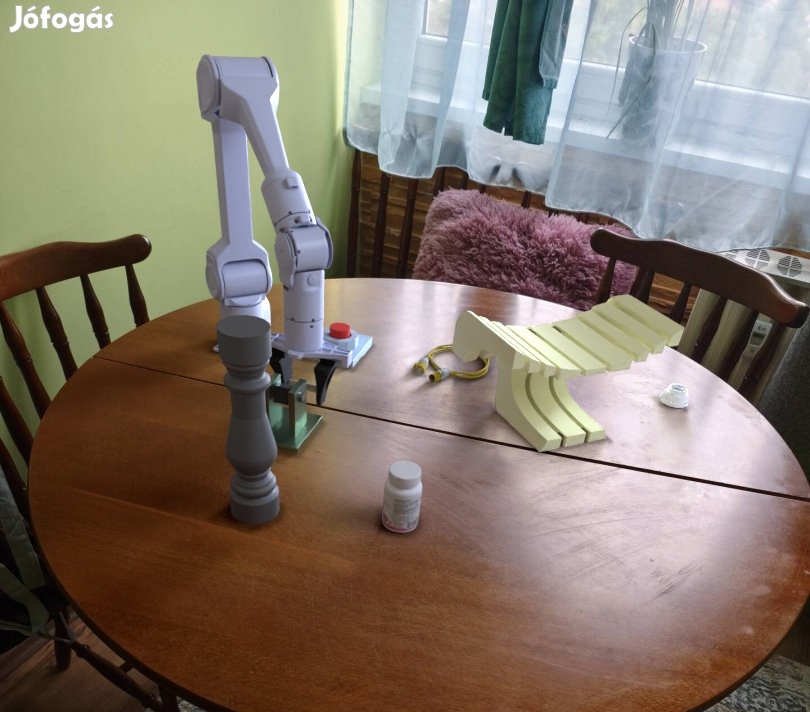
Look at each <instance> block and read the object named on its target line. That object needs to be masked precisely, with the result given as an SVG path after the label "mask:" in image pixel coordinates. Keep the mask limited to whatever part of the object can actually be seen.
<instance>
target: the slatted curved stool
mask: <svg viewBox="0 0 810 712" xmlns="http://www.w3.org/2000/svg"><path fill="white" fill-rule="evenodd" d="M685 329H686V327H684V326H683V325H681V324H679V323H678V322H676V321H674V320H673V319H671V318H670V317H668V316H666V315H664V314H663V313H661V312H660V311H658V310H656V309H654V308H653V307H651V306H649V305H647V304H646V303H644V302H642V301H641V300H639V299H638V298H636V297H634V296H633V295H630V294H619V295H615V296H611V297H610V298H608V299H607V301H606V302H602V303H599V304H595V305H593V306H592V307H591V309H590V310H586V311H582V312H579V313H577V314H576V315H575V317H570V318H567V319H562V320H558V321H553V322H551V324H549V323H548V322H547V323H542V324H541V323H540V324H532V325H527V327H525V326H524V325H509V324H508V325H507V324H506V325H504V324H503V323H502V322H499V321H493V320H492V321H491V320H489V319H488V318H487V317H484V316H481V315H479V316H478V315H477V314H476V313H474V312H473V311H471V310H465V311H462V312H461V313H459V315H458V317H457V319H456V322H455V325H454V333H453V338H452V344H453V345H452V346H451V347H452V351H451V352H452V353H454V354H455V355H456V356H457V357H458V358H459V359H460V360H461V361H462V362H463V363H465V364H467V363H470V362H472V361H475V360H477V359H478V358H479V357H478V355H479V356H481V357H482V358H483V359H484V360H486V359H485V358H489V359H493V358H495V359H496V364H497V365H496V366H497V378H496V386H495V393H494V406H495V410H496V412H497V413H498V414H499V415H500V416H501V417H502V418H503V419H504V420H505V421H506V422H507V423H508V424H510V426H511V427H513V428H514V429H515V430H516V431H517V432H518V433H519V434H520V435H521V436H522V437H523V439H525V440H526V441H527V442H528V443H529V444H530V445H531V446H532V447H533V448H534V449H536V450H537V451H538V453H543V452H547V451H553V450H557V449H560V447H561V446H562V447H563V448H567V447H571V446H576V445H581V444H584V443H585V441H586V442H587V443H591V442H597V441H602V440H606V439H607V436H606V435H607V434H606V429H605V428H604V427H603V426H602V425H600V424H599V422H597V421H596V420H595V419H593V418H592V417H591V416H590V415H589V414H588V413H587V412H586V411H585V410H584V409H583V408H582V407H581V406H580V405H579V404H578V403H577V402H576V401H575V400H574V398H573V397H572V395H571V393H570V391H569V389H568V387H567V380H570V379H576V378H580V376H581V375H582V376H583V377H589V376H594V375H595V376H596V375H601V374H605V373H606V371H607V372H609V373H614V372H622V371H628V370H630V369H631V366H632V363H633V362H634V363H643V362H647V360H648V356H649V354H651V355H652V356H653V355H661V354H663V352H664V350H665V348H666V346H667V347H669V348H670V347H678V346H679V345H680V342H681V339H682V337H683V334H684V332H685Z"/></svg>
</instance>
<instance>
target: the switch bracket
mask: <svg viewBox="0 0 810 712" xmlns="http://www.w3.org/2000/svg"><path fill="white" fill-rule="evenodd" d="M270 379H271V383H270V385H269V387H268V388H267V389H266V390H265V402H266V413H267V416H268V420H269V423H270V426H271V429H272V433H273V436H274V439H275V442H276V446H277V450H278V449H279V450H281V451H286V452H291V453H295V454H298V453H299V452H300V451H301V449H302V448H303V447H304V445H305V444H306V443H307V441H308V440H309V439H310V437H312V435H313V433H314V432H315V431H316V430H317V428H318V427H319V426H320V425H321V423H322V422H323V418H324V417H323V415H321V414H316V413H312V412H308V411H307V391H306V383H307V379H304V378H299V379H298V380H297V381H298V382H297V383H296V384H295V385H294V386H293V387H292V388H291V389H290V391H289V392H288V402H289V405H288V407H286V406H282V404H279V403H275V402H273V397H274V387H275V385H278V384H281V374H278V373H274V372H273V374H272V375H270Z"/></svg>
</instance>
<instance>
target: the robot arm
mask: <svg viewBox="0 0 810 712" xmlns="http://www.w3.org/2000/svg"><path fill="white" fill-rule="evenodd" d="M195 73H196V74H195V77H196V79H195V80H196V88H197V89H196V90H197V98H198V108H199V111H200V117H201V119H202V120H204V121H206V122H208V123H210V125H211V132H212V139H213V140H212V141H213V142H212V143H213V152H214V163H215V164H214V165H215V172H216V173H215V175H216V186H217V199H218V208H219V222H220V230H221V232H220V233H221V237H220V238H219V239H217V241H216V242H214V243H213V244H212V245H211V246H209V248H208V249H207V250H206V251H205V252H206V255H205V259H206V260H205V265H206V266H205V269H204V272H205V273H204V274H205V276H204V277H205V281H206V282H205V283H206V286H207V289H208V292H209V294H210V295H211V297H212V298H214V299H215V300H216V301H217V302H218V305H219V307H218V308H219V317H220V318H219V320H221V319H223V318H226V317H230V316H235V315H250V316H256V317H259V318H262V319H265V320H266V321H267V322H269V323H270V326H272V323H271V321H272V319H271V304H270V302H269V301H270V300H268V297H267V296H266V295H268V294H269V293H270V292H271V289H272V286H273V273H272V269H271V267H270V260H269V254H268V252H267V250H266V248H265V247H264V246H262V245H261V244H260V243H259V242H257V241H256V240H255V239H254V233H253V218H252V203H251V202H252V201H251V200H252V199H251V186H250V172H249V171H250V169H249V153H248V142H249V144H250V145H251V149H252V151H253V153H254V156H255V158H256V160H257V163H258V165H259V167H260V169H261V171H262V174H263V176H264V179H263V181H262V183H261V186H260V192H261V195H262V197H263V201H264V204H265V206H266V210H267V212H268V215H269V218H270V221H271V224H272V226H273V230H274V232H275V235H276V236H275V240H274V244H273V250H274V255H275V259H276V263H277V268H278V277H279V281H280V283H281V284H282V297H283V298H282V300H283V302H282V303H283V305H282V306H283V333H279V332H271V345H272V356H271V357H270V359H269V360H270V362H269V363H268V365H269V366H270V368H271V370H272V372H273V374H274V373H278V374H281V383H285V384H288V383H289V380H290V379H293V380H294V378H293V367H294V366H293V365H294V359H295V360H301V359H302V358H303V359H304V358H306V359H310V358H314V359H318V360H317V361H318V362H317V364H315V366H314V367H313V373H314V379H315V385H316V393H315V404H316V406H319V407H321V406H322V405H323V404H324V402H325V401H326V398H327V392H328V390H329V386H330V383H331V381H332V378H333V377H334V374H335V372H336V370H337V368H338V366H341V368H346V369H348V368H350V367H349V365H350V364H351V363H352V351H351V350H347V349H344V348H341V347H339V346H336V345H334V344H331V343H329V342H327V341H324V340H323V330H324V319H325V317H324V316H325V270H328V269H329V268H330V267H331V266H332V263H333V259H334V246H333V241H332V236H331V233H330V231H329V229H328V227H327V226H326V225H325V224H324V223H322V221H321V218H320V217H319V216H315V214H314V211H313V207H312V205H311V202H310V199H309V197H308V193H307V191H306V188H305V185H304V182H303V179H302V177H301V175H300V173H298V172H296V171H295V170H293V169H291V168H290V163H289V161H288V157H287V152H286V149H285V145H284V141H283V137H282V134H281V133H282V132H281V130H280V125H279V122H278V117H277V111H278V108H279V107H278V106H279V100H280V81H279V75H278V71H277V69H276V66H275V64H274V63H273V61H272V60H271V58H269V56H265V55H263V56H259V57H258V56H257V57H255V56H254V57H253V56H225V55H224V56H223V55H210V54H203V55H202V56H201V58H200V60H199V62H198V65H197V68H196V72H195ZM212 349H213V352H215V353H219V351H218V344H216V345H215V346H214V347H213V348H212ZM314 359H313V360H314ZM319 360H320V361H319ZM339 364H341V365H339Z"/></svg>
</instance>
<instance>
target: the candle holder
mask: <svg viewBox="0 0 810 712" xmlns="http://www.w3.org/2000/svg"><path fill="white" fill-rule="evenodd" d="M271 326H272V325H271ZM271 326H270V323H269V322H267V321H266V320H265V319H262V318H259V317H256V316H250V315H235V316H230V317H226V318H223V319H219V320H218V322H216V324H215V329H216V338H217V339H216V341H217V345H218V351H219V352H218V357H219V358H220V359H221V364H222V365H223V366H224V368H225V369H226V371H227V372H225V374H224V375H223V377H222V382H223V385H224V387H225V388H226V389H227V391H229V393H230V402H231V403H230V404H231V415H230V420H229V426H228V431H227V436H226V442H225V448H224V449H225V457H226V459H227V462H228V463H229V464H230V466H231V467H233V469H234V473H233V474H232V476H231V478H230V479H229V483H230V488H229V489H228V494H229V506H230V513H231V516H232V517H233V518H234V519H235V520H237V521H239V522H241V523H243V524H248V525H249V524H250V525H260V524H261V525H262V524H265V523H267V522H270V521H272V520H273V519H274V518H276V517H277V516H278V514H279V512H280V509H281V508H280V507H281V506H280V490H279V486H278V481H277V478H276V477H277V476H276V475H275V474H274V473H273V472H272V471H271V470H272V466H273V465H274V463H275V461H276V460H277V457H278V448H277V446H276V442H275V439H274V436H273V433H272V429H271V426H270V423H269V420H268V416H267V413H266V402H265V390H266V389H267V388H268V387H269V385H270V383H271V379H270V377H271V375H270V374H269V373H268V372H266V370H267V368H268V365H269V364H268V363H269V362H270V360H269V359H270V357H271V356H272V345H271V333H272V327H271Z"/></svg>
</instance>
